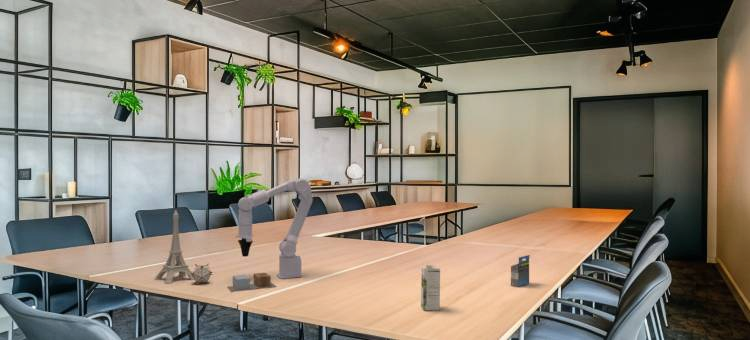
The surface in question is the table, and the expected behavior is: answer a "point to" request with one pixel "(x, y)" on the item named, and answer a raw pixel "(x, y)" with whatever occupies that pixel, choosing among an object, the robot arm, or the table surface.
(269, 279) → the walnut block
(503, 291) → the table surface
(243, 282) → the slate block
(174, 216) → the eiffel tower
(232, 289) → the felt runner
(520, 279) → the label tape cartridge
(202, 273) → the grey faceted ornament
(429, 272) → the syrup box
